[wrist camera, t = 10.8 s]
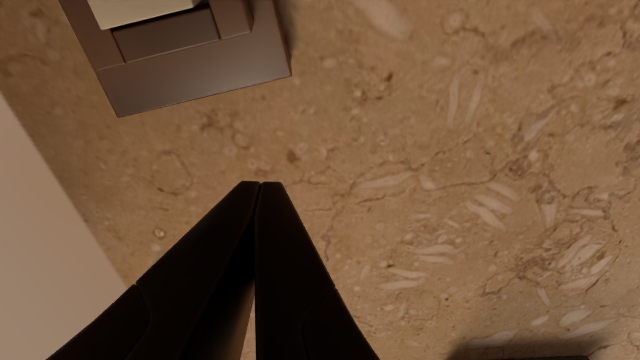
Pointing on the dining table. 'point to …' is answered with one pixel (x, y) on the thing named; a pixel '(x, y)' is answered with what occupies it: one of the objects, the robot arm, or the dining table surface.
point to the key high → (134, 10)
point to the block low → (557, 358)
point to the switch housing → (183, 52)
